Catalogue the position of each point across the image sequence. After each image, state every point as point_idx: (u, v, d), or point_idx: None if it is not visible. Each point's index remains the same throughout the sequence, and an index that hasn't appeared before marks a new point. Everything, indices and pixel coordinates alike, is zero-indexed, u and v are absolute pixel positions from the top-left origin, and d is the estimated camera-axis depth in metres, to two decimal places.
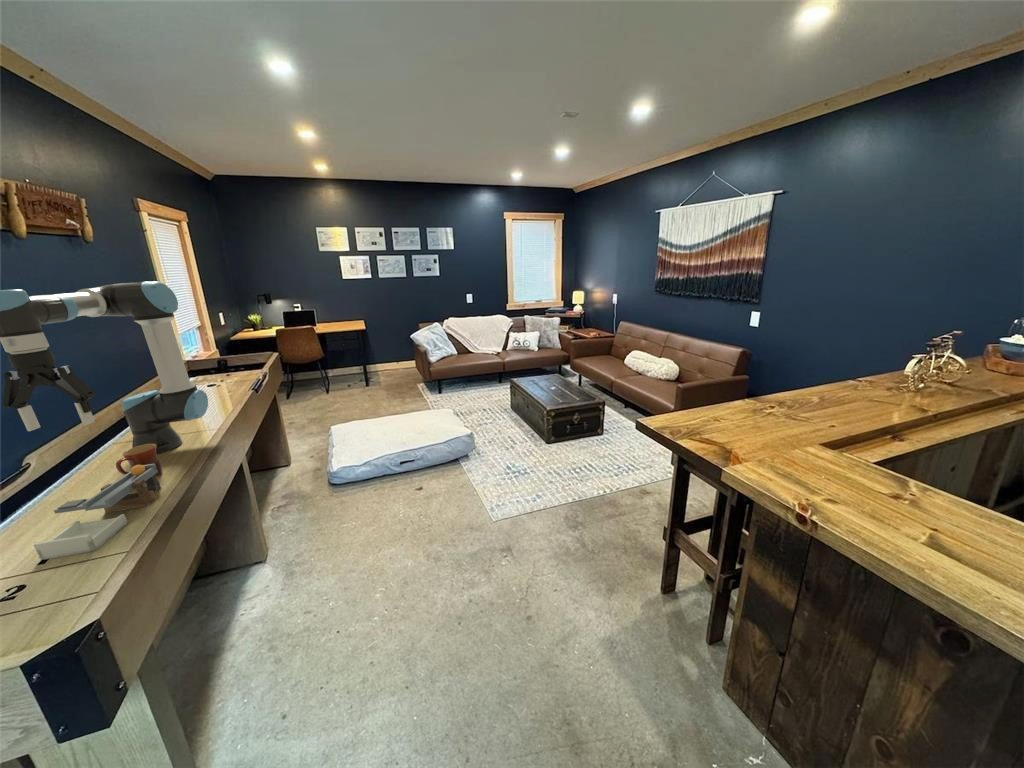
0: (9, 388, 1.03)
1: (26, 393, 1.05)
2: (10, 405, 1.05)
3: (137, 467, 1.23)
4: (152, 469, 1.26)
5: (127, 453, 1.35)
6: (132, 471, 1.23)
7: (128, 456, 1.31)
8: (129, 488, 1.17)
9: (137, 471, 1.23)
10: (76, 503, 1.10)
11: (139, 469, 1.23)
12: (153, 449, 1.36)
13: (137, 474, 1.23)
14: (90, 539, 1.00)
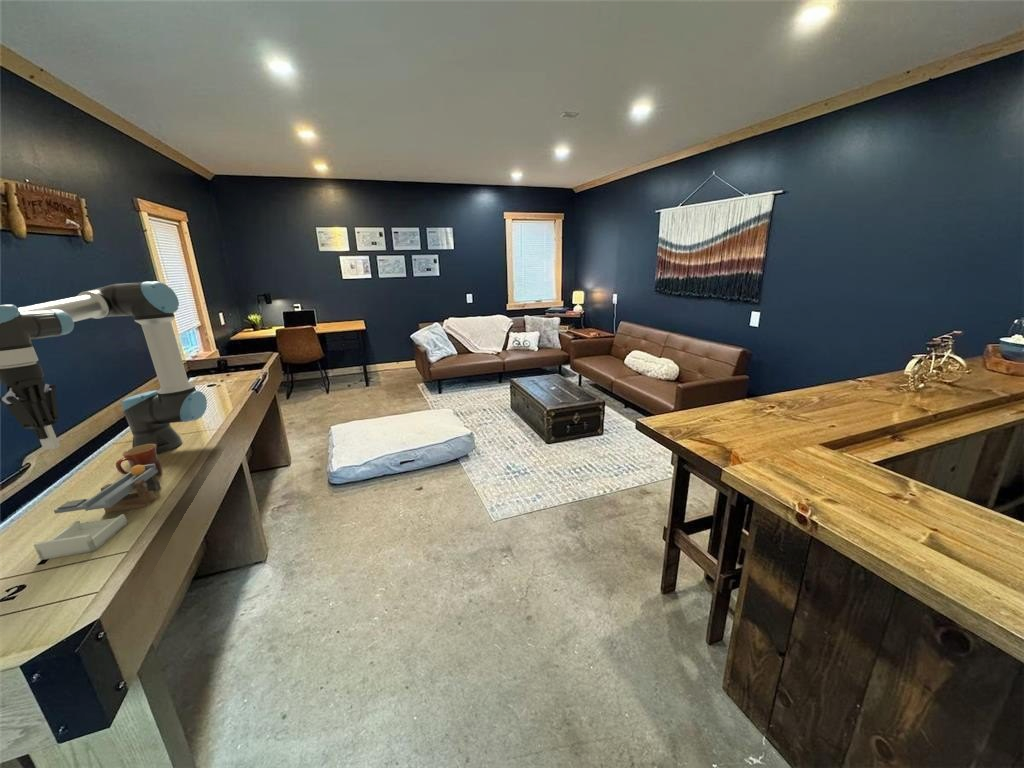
0: None
1: None
2: None
3: (137, 467, 1.23)
4: (152, 469, 1.26)
5: (127, 453, 1.35)
6: (132, 471, 1.23)
7: (128, 456, 1.31)
8: (129, 488, 1.17)
9: (137, 471, 1.23)
10: (76, 503, 1.10)
11: (139, 469, 1.23)
12: (153, 449, 1.36)
13: (137, 474, 1.23)
14: (90, 539, 1.00)
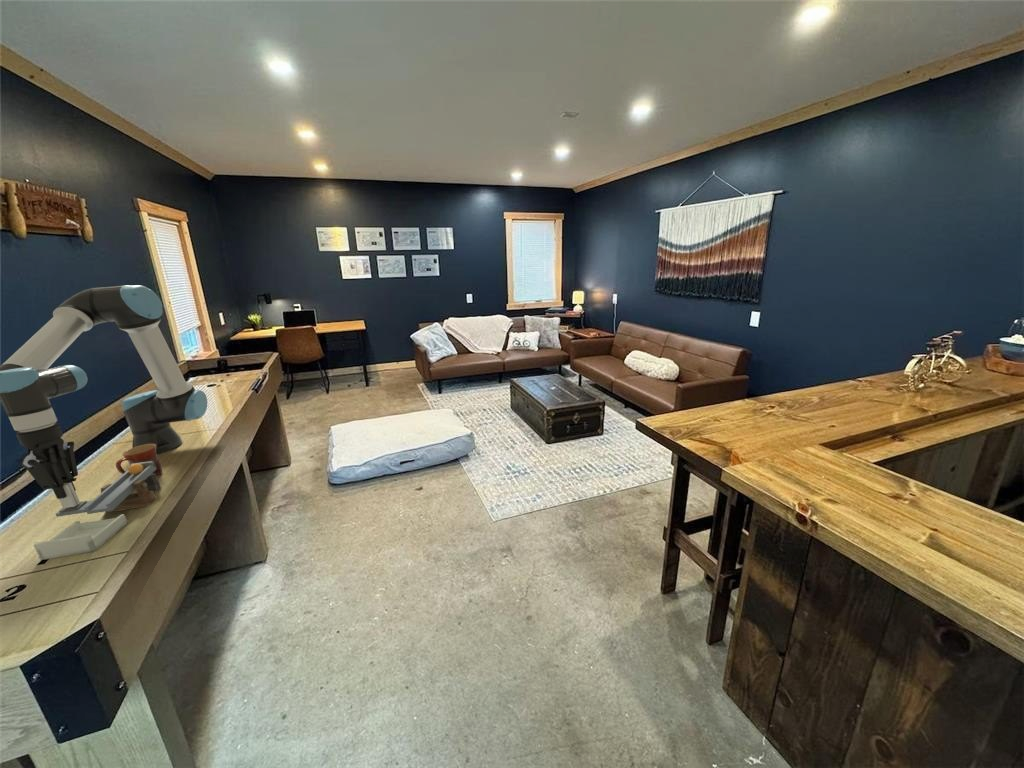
0: None
1: None
2: None
3: (134, 467, 1.22)
4: (151, 467, 1.26)
5: (127, 453, 1.35)
6: (130, 471, 1.22)
7: (128, 456, 1.31)
8: (129, 489, 1.17)
9: (136, 471, 1.22)
10: (77, 506, 1.10)
11: (137, 469, 1.22)
12: (153, 449, 1.36)
13: (136, 473, 1.23)
14: (90, 539, 1.00)
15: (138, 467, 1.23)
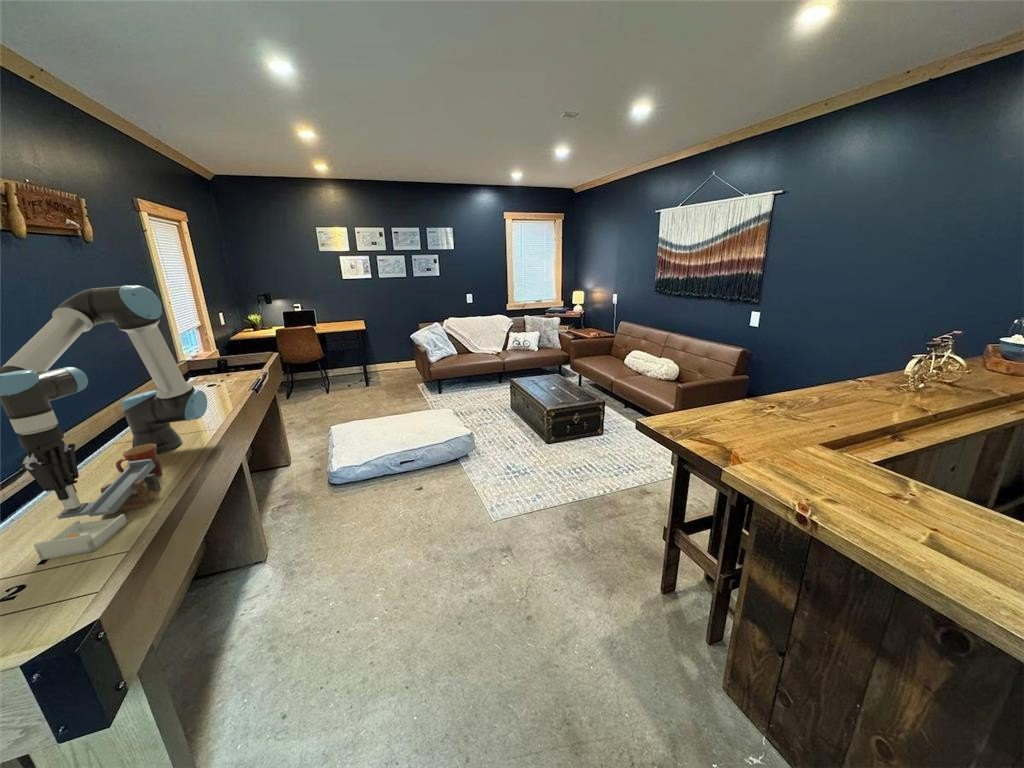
0: None
1: None
2: None
3: None
4: (149, 465, 1.25)
5: (127, 453, 1.35)
6: None
7: (128, 456, 1.31)
8: (129, 490, 1.17)
9: (79, 535, 1.02)
10: (78, 508, 1.10)
11: None
12: (153, 449, 1.36)
13: (75, 534, 1.01)
14: (90, 539, 1.00)
15: None
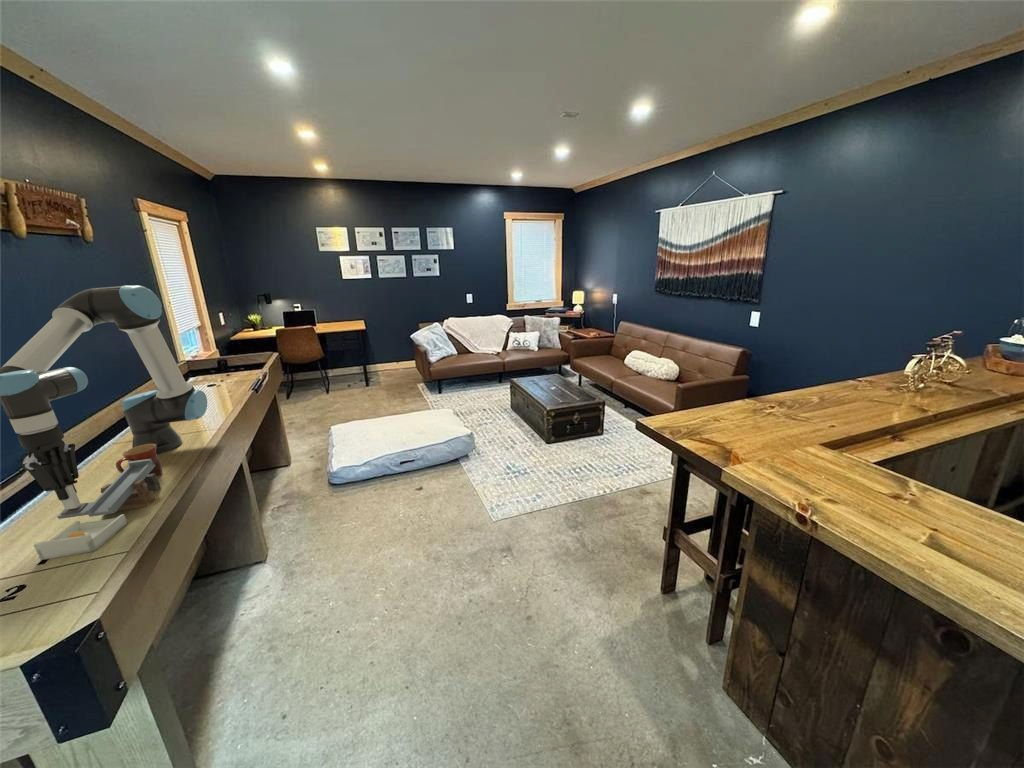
0: None
1: None
2: None
3: None
4: (149, 465, 1.25)
5: (127, 453, 1.35)
6: None
7: (128, 456, 1.31)
8: (129, 490, 1.17)
9: None
10: (78, 508, 1.10)
11: None
12: (153, 449, 1.36)
13: None
14: (90, 539, 1.00)
15: None
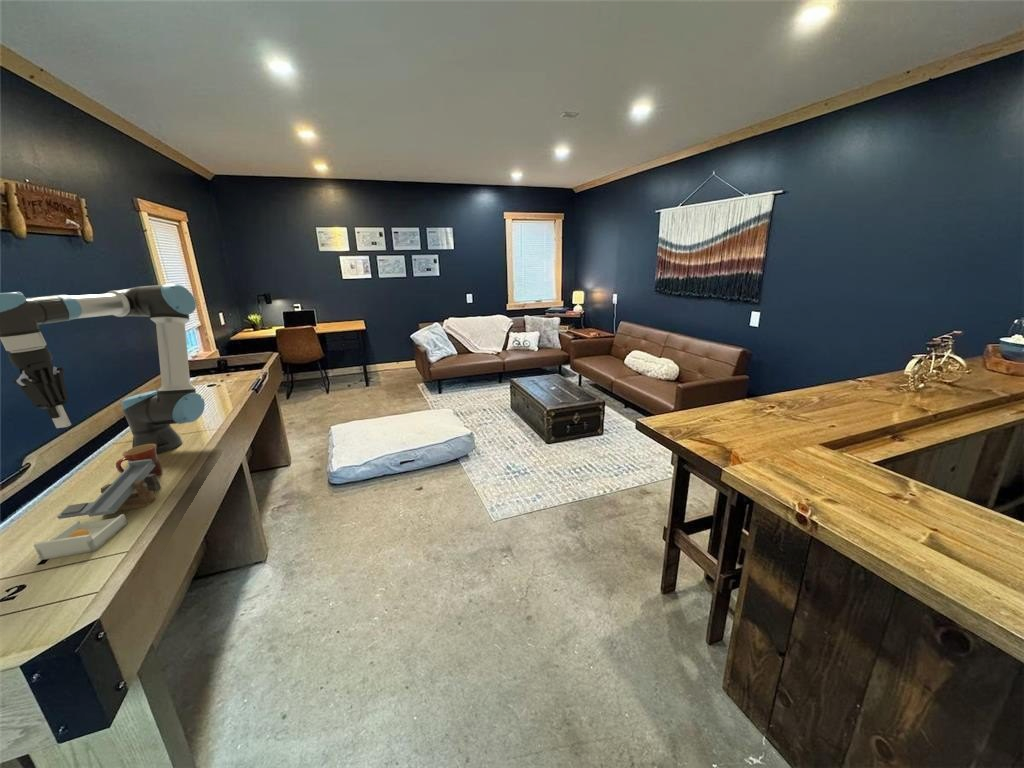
0: None
1: None
2: None
3: None
4: (149, 465, 1.25)
5: (127, 453, 1.35)
6: None
7: (128, 456, 1.31)
8: (129, 490, 1.17)
9: None
10: (78, 508, 1.10)
11: None
12: (153, 449, 1.36)
13: None
14: (90, 539, 1.00)
15: None
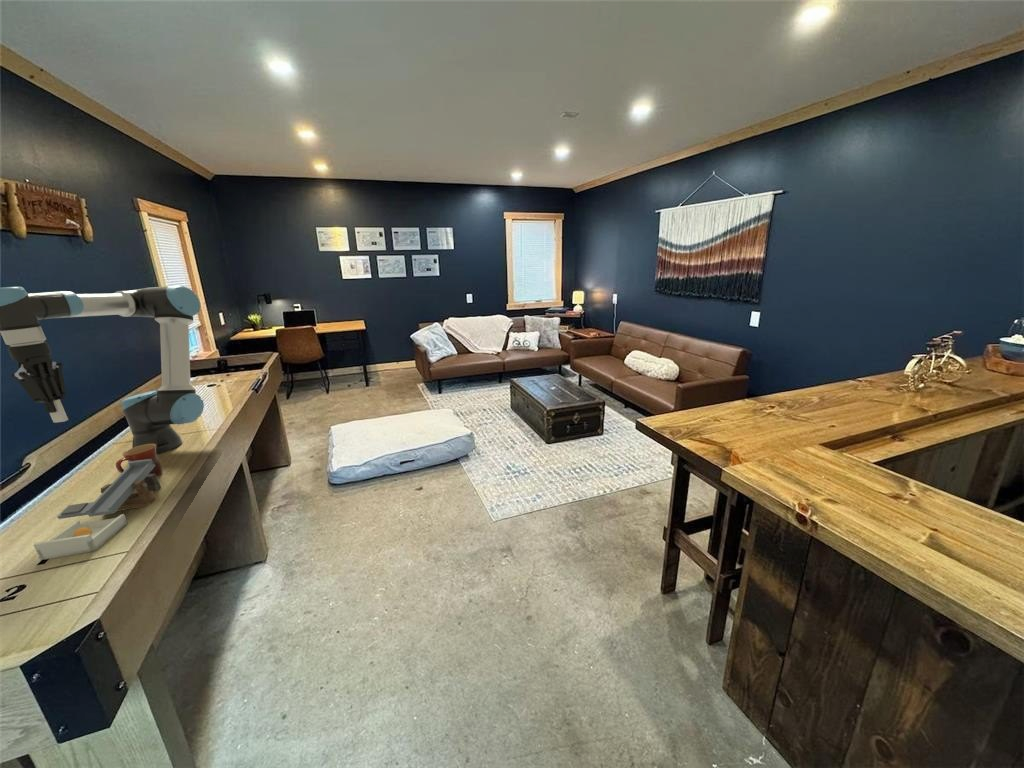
0: None
1: None
2: None
3: None
4: (149, 465, 1.25)
5: (127, 453, 1.35)
6: None
7: (128, 456, 1.31)
8: (129, 490, 1.17)
9: None
10: (78, 508, 1.10)
11: None
12: (153, 449, 1.36)
13: None
14: (90, 539, 1.00)
15: None
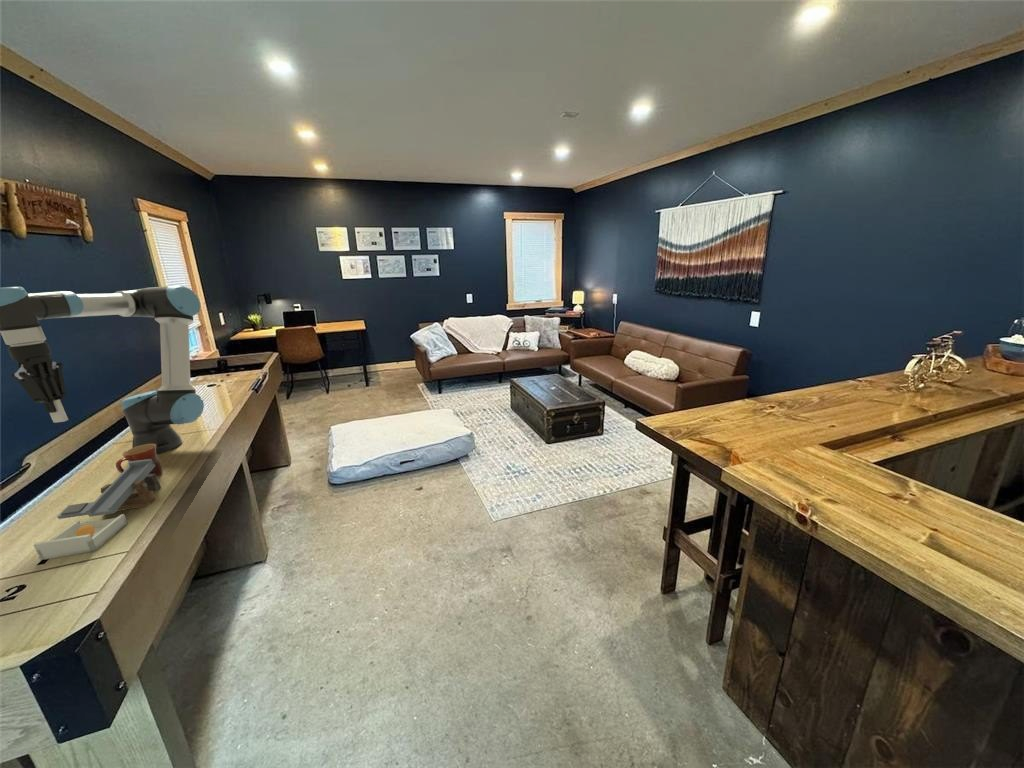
0: None
1: None
2: None
3: None
4: (149, 465, 1.25)
5: (127, 453, 1.35)
6: None
7: (128, 456, 1.31)
8: (129, 490, 1.17)
9: None
10: (78, 508, 1.10)
11: None
12: (153, 449, 1.36)
13: None
14: (90, 539, 1.00)
15: (88, 534, 1.04)
